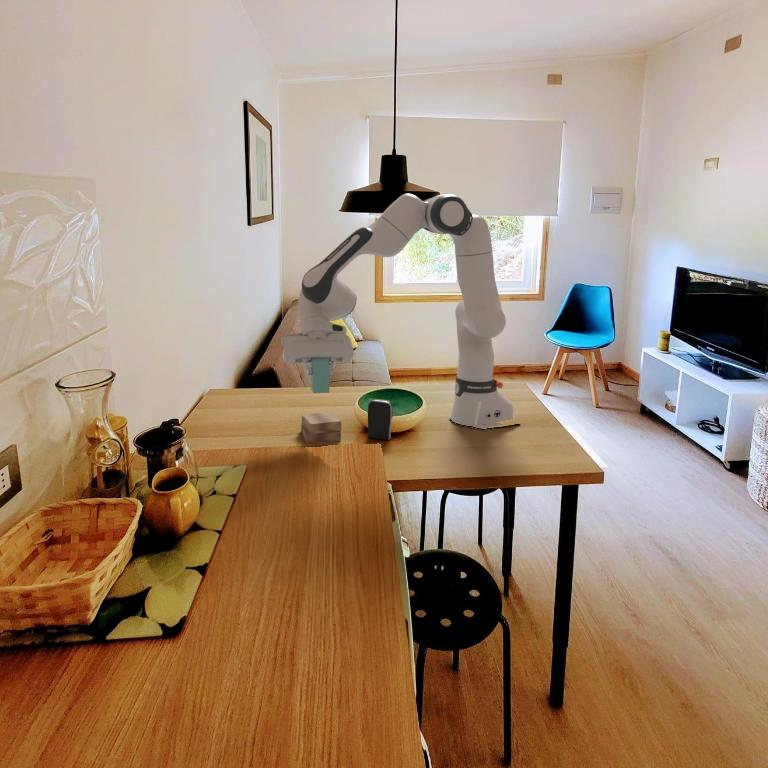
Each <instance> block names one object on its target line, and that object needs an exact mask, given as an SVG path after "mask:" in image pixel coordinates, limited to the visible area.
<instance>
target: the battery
mask: <svg viewBox="0 0 768 768" xmlns="http://www.w3.org/2000/svg"><path fill="white" fill-rule="evenodd" d="M393 415H394V404H393V402H392V401H390V400H389V399H387V400H386V399H381V398H374V399H372V400H370V401H369V403H368V406H367V438H370V439H376V440H382V441H383V440H384V441H389V440H390V439H391V438H392V437H391V435H392V434H391V432H392V431H391V429H392V421H393V420H392V419H393Z"/></svg>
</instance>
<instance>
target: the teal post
mask: <svg viewBox="0 0 768 768" xmlns="http://www.w3.org/2000/svg"><path fill="white" fill-rule="evenodd" d="M310 367H312V368H313V375H310V379H311V380H310V383H311V387H310V388H311V391H312V393H313V394H326V393H327V394H330V375H329V370H330V367H331V362H329V360H328V359H327V358H313V359H311V366H310Z"/></svg>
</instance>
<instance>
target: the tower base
mask: <svg viewBox="0 0 768 768" xmlns="http://www.w3.org/2000/svg"><path fill="white" fill-rule="evenodd" d="M300 425H301V427H300V428H301V429H300V431H301V434H302V436H303V439H304V442H305V443H306V444H311V443H326V442H327V443H328V442H341V441H342V432H341V431H338V432H328V433H319V434H310V433H309V432H308V431H307V430H306V429H305V427H304V426H303V425H302V422H301V424H300Z"/></svg>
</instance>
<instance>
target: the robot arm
mask: <svg viewBox="0 0 768 768" xmlns="http://www.w3.org/2000/svg"><path fill="white" fill-rule="evenodd" d="M489 228H490V227H489V225H488V222H487V220H486V219H485V218H484V217H483V216H481V215H478V214H473V213H472V212H471V211H470V209H469V208H468V206H467V204H466V203H465V201H464V200H463V199H462V198H461V197H459V196H457V195H456V194H452V193H445V194H444V193H443V194H438V195H435V196H432V197H430V198H428V199H424V200H422V199H421V198H419V197H418V196H416V195H414V194H412V193H404V194H402V195H400V196H399V197H397V199H396V200H394V201H392V203H391V204H390V205H389V206H388V207H387V208H386V209H385V210H384V211H383V212H382V213H381V215H379V217H378V218H377V219H376V220H375V221H374V222H372V224H370V225H369V226H368V225H367V226H366V227H360V228H358V229H356V230H355V231H354V232H352V233H351V234H350V235H348V237H346V239H344V240H343V241H342V242H341V243H340V244H339V245H338V246H337V247H336V248H335V249H333V251H331V252H330V253H329V254H328V255H327V256H326V257H325V258H324V259H322V261H320V262H319V263H318V264H316V265H315V266H313V267H312V268H310V269H309V270H307V272H306V273H305V274H304V275H303V278H302V280H301V281H302V282H301V289H300V292H299V294H298V301H297V302H298V303H297V304H298V306H297V307H298V316H299V318H300V322H299V323H300V324H299V327H300V333H299V332H296V333H295V332H293V333H285V334H283V335H281V336H280V344H281V346H282V347H283V349H282V350H283V351H282V360H283V362H284V363H286V364H301V365H302V367H303V368H304V369H305V371H306V375H307V376H311V375H313V368H312V367H311V366H309V364H310V363H311V359H313V358H327V359H328V360H329V362H330V370H329V376H330V375H331V376H332V375H334V372H335V371H334V369H335V367H336V364H337V363H351V361H352V360H353V359H354V356H355V353H354V352H355V351H354V347H353V346H354V345H353V343H352V340H351V338H350V337H349V335H348V333H347V332H348V330H347V329H348V328H347V327H346V326H344V325H341V324H338V323H335V322H334V321H337V320H339V319H342V318H345V317H347V316H349V315H350V314H351V313H352V312H353V311H354V309H355V307H356V305H357V294H356V292H355V291H354V290H353V289H352V288H351V287H350V286H349V285H347V284H346V283H345V282H343V281H342V280H340V279H339V278H338V275H339V274H340V273H341V272H342V271H343V270H344V269H345V268H346V267H348V266H349V265H350V263H352V262H353V261H354V260H355V259H356V258H357V257H359V256H362V255H372V256H375V257H379V258H392V257H395V256H397V255H398V254H400V253H401V252H402V251H403V250H404V249H405V247H406V246H407V245H408V243H410V241H411V240H412V239H413V237H414V236H415V235H416V234H417V233H418V232H419V231H421V230H423V229H424V230H426V231H428V232H430V233H433V234H434V233H435V234H438V235H449V236H450V237H451V238H452V240H453V244H454V254H455V256H454V257H455V267H456V275H457V277H456V278H457V282H458V285H459V289H460V293H461V297H462V300H460V301H459V302H458V304H457V305H456V307H455V311H454V315H455V320H456V334H457V335H456V336H457V347H458V357H457V359H458V360H457V371H456V372H457V373H456V374H457V375H456V376H455V382H454V394H455V396H454V401H453V404H452V409H451V412H450V414H449V417H450V418H451V419H452V420H453V421H454V422H457V423H460V424H464V425H468V426H474V427H477V428H488V427H492V426H498V425H502V424H500V423H497V422H501V421H505V420H511V419H514V415H515V413H514V407H513V404H512V402H511V400H509V399H508V398H507V397H506V396H505V395H503V394H502V393H501V392H500V391H499V390H498V389H502V388H504V383H503V382H502V381H500V380H496V379H495V378H493V375H494V364H495V353H494V348H493V343H492V342H493V341H492V339H494V338H496V337H498V336H499V335H500V334H501V333H502V332H503V331H504V329H505V327H506V322H507V321H506V316H505V313H504V311H503V307H502V304H501V303H502V302H501V299H500V294H499V291H498V286H497V282H496V277H495V267H494V256H493V255H494V253H493V244H492V239H491V233H490V229H489ZM332 321H333V322H334V323H333V322H332ZM497 388H498V389H497ZM477 428H476V429H477Z"/></svg>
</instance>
